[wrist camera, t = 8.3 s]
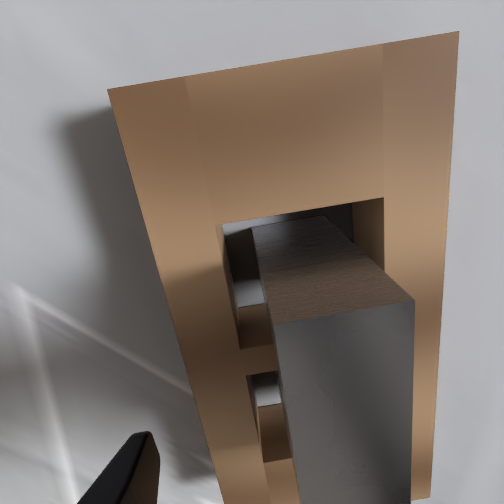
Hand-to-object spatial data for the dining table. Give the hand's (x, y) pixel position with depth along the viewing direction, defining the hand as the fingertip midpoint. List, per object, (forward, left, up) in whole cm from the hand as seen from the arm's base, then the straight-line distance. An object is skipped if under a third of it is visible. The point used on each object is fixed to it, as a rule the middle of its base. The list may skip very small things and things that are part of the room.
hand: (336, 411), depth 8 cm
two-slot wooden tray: (0, 0, -5) cm, 5 cm away
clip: (0, 0, -5) cm, 5 cm away
